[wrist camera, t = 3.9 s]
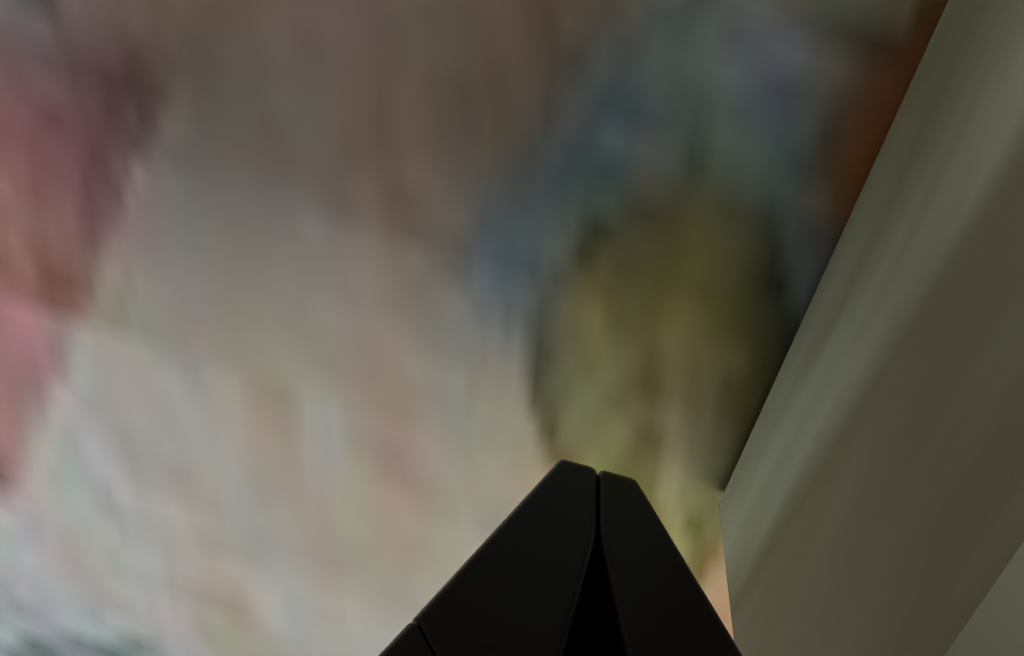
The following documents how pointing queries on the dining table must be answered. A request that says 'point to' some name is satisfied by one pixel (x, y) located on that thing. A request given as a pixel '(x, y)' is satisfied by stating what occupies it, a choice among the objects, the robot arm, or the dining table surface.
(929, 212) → the drawer
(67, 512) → the dining table surface
